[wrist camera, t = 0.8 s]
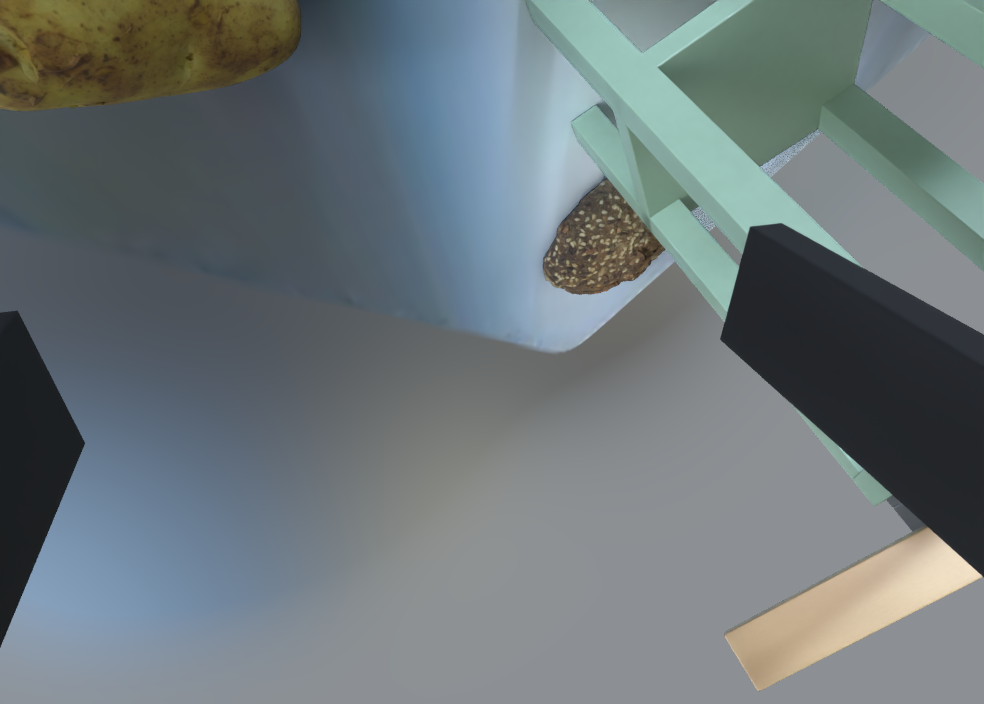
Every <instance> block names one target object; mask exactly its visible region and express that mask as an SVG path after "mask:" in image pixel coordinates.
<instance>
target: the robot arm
mask: <svg viewBox="0 0 984 704" xmlns="http://www.w3.org/2000/svg"><path fill="white" fill-rule="evenodd" d="M720 339H721V341H722V342H723V343H725V344H726V345H727V346H728V347H729V348H730V349H731V350H732V351H734V352H735V353H736V354H737V355H738V356H739V357H740V358H741V359H742V360H744V361H745V362H746V363H747V364H748V365H749V366H750V367H751V368H752V369H753V370H755V371H756V372H757V373H758V374H759V375H760V376H761V377H762V378H764V380H766V381H767V382H768V383H769V384H770V385H771V386H772V387H774V388H775V389H776V390H777V391H778V392H779V393H780V394H781V395H782V396H783V397H785V398H786V399H787V400H788V401H789V402H790V403H791V404H792V405H793V406H794V407H796V408H797V409H798V410H799V411H800V412H801V413H802V414H803V415H804V416H805V417H807V418H808V419H809V420H810V421H811V422H812V423H813V424H814V425H815V426H817V427H818V428H819V429H820V430H821V431H822V432H823V433H824V434H825V435H827V436H828V437H829V438H830V439H831V440H832V441H833V442H834V443H835V444H837V445H838V446H839V447H840V448H841V449H842V450H843V451H844V452H845V453H846V454H848V455H849V456H850V457H851V458H852V459H853V460H854V461H855V462H856V463H858V464H859V465H860V466H861V467H862V468H863V469H864V470H865V471H866V472H868V473H869V474H870V475H871V476H872V477H873V478H874V479H875V480H876V481H878V482H879V483H880V484H881V485H882V486H883V487H884V488H885V489H886V490H887V491H889V492H890V493H891V494H892V495H893V496H894V497H895V498H896V499H897V500H899V501H900V502H901V503H902V504H903V505H904V506H905V507H906V508H907V509H909V510H910V511H911V512H912V513H913V514H914V515H915V516H916V517H917V518H918V519H920V520H921V521H922V522H923V523H924V524H925V525H926V526H927V527H928V528H930V529H931V530H932V531H933V532H934V533H935V534H936V535H937V536H938V537H940V538H941V539H942V540H943V541H944V542H945V543H946V544H947V545H948V546H950V547H951V548H952V549H953V550H954V551H955V552H956V553H957V554H958V555H959V556H961V557H962V558H963V559H964V560H965V561H966V562H967V563H968V564H969V565H971V566H972V567H973V568H974V569H975V570H976V571H977V572H978V573H979V574H981V575H982V576H983V577H984V335H983V334H982V333H980V332H978V331H976V330H974V329H973V328H971V327H969V326H967V325H965V324H963V323H961V322H960V321H958V320H956V319H954V318H953V317H951V316H949V315H947V314H945V313H944V312H942V311H940V310H938V309H936V308H935V307H933V306H931V305H929V304H927V303H925V302H924V301H922V300H920V299H918V298H916V297H915V296H913V295H911V294H909V293H907V292H906V291H904V290H902V289H900V288H898V287H897V286H895V285H893V284H891V283H889V282H887V281H885V280H884V279H882V278H880V277H878V276H877V275H875V274H873V273H871V272H869V271H868V270H866V269H864V268H862V267H860V266H859V265H857V264H855V263H853V262H851V261H850V260H848V259H846V258H844V257H842V256H840V255H839V254H837V253H835V252H833V251H831V250H830V249H828V248H826V247H824V246H822V245H821V244H819V243H817V242H815V241H813V240H812V239H810V238H808V237H806V236H804V235H803V234H801V233H799V232H797V231H795V230H793V229H792V228H790V227H788V226H786V225H784V224H783V223H777V224H768V225H760V226H751V227H750V228H749V232H748V236H747V240H746V243H745V247H744V251H743V255H742V259H741V262H740V266H739V270H738V274H737V278H736V281H735V285H734V289H733V293H732V297H731V300H730V304H729V308H728V312H727V316H726V319H725V324H724V327H723V331H722V335H721V338H720ZM84 444H85V442H84V440H83V438H82V436H81V434H80V432H79V430H78V429H77V426H76V424H75V423H74V421H73V419H72V417H71V415H70V413H69V411H68V409H67V407H66V405H65V403H64V401H63V399H62V397H61V395H60V393H59V391H58V389H57V387H56V386H55V384H54V381H53V379H52V378H51V375H50V373H49V371H48V370H47V368H46V366H45V364H44V362H43V360H42V358H41V356H40V354H39V352H38V350H37V348H36V346H35V344H34V342H33V340H32V338H31V336H30V334H29V332H28V330H27V328H26V326H25V325H24V322H23V321H22V319H21V317H20V315H19V313H18V311H11V312H3V313H0V647H1V644H2V642H3V639H4V637H5V635H6V632H7V630H8V627H9V625H10V622H11V620H12V617H13V615H14V613H15V611H16V608H17V606H18V603H19V601H20V598H21V596H22V593H23V591H24V589H25V586H26V584H27V582H28V579H29V577H30V574H31V572H32V570H33V567H34V565H35V562H36V560H37V558H38V555H39V553H40V550H41V548H42V545H43V543H44V541H45V538H46V536H47V534H48V531H49V529H50V526H51V524H52V521H53V519H54V517H55V514H56V512H57V509H58V507H59V505H60V502H61V500H62V497H63V495H64V493H65V490H66V488H67V485H68V483H69V481H70V478H71V476H72V473H73V471H74V468H75V466H76V464H77V461H78V459H79V457H80V454H81V452H82V449H83V447H84Z"/></svg>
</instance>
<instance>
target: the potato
mask: <svg viewBox="0 0 984 704" xmlns="http://www.w3.org/2000/svg"><path fill="white" fill-rule="evenodd" d="M300 37H301V9H300V4H299V1H298V0H0V108H1V109H7V110H15V111H37V110H48V109H57V108H63V107H70V108H75V107H86V106H98V105H112V104H119V103H125V102H132V101H139V100H145V99H151V98H156V97H162V96H172V95H180V94H187V93H193V92H199V91H205V90H211V89H216V88H221V87H226V86H230V85H233V84H237V83H240V82H243V81H246V80H249V79H252V78H254V77H257V76H259V75H261V74H263V73H265V72H267V71H269V70H271V69H273V68H275V67H277V66H278V65H280V64H281V63H283V62H284V61H286V60H287V59H288V58H289V57H290V56H291V55H292V54H293V52H294V51H295V50H296V48H297V46H298V43H299V41H300Z"/></svg>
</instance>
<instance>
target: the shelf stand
mask: <svg viewBox="0 0 984 704" xmlns="http://www.w3.org/2000/svg"><path fill="white" fill-rule="evenodd" d="M525 1H526V4H527V7H528V10H529V12H530V15H531V18H532V20H533V22H534V23H535V24H536V25H537V26H538V27H539V29H540V30H541V31H542V32H543V33H544V34H545V35H546V36H547V38H548V39H549V40H550V41H551V42H552V43H553V44H554V45H555V46H556V48H557V49H558V50H559V51H560V52H561V53H562V54H563V55H564V56H565V58H566V59H567V60H568V61H569V62H570V63H571V64H572V65H573V66H574V68H575V69H576V70H577V71H578V72H579V73H580V74H581V75H582V76H583V78H584V79H585V80H586V81H587V82H588V83H589V84H590V85H591V87H592V88H593V89H594V90H595V91H596V92H597V93H598V94H599V95H600V97H601V98H602V99H603V100H604V101H605V102H606V103H607V104H608V105H609V107H610V108H611V109H612V110H613V112H614V116H615V119H616V123H617V127H618V129H617V128H616V126H615V125H614V124H613V123H612V122H611V121H610V120H609V118H608V117H607V116H606V115H605V114H604V113H603V112H602V111H601V109H600V108H599V107H598V106H597V105H595V106H593V107H592V108H591V109H589V110H588V111H586V112H585V113H583V114H582V115H580V116H579V117H578V118H576V119H575V120H573V121H572V122H571V125H572V127H573V130H574V133H575V135H576V138H577V141H578V142H579V144H580V145H581V146H582V147H583V149H584V150H585V151H586V152H587V153H588V155H589V156H590V157H591V158H592V160H593V161H594V162H595V163H596V165H597V166H598V167H599V168H600V170H601V171H602V172H603V173H604V174H605V176H606V177H607V178H608V179H609V181H610V182H611V183H612V184H613V186H614V187H615V188H616V189H617V190H618V192H619V193H620V194H621V195H622V197H623V198H624V199H625V200H626V202H627V203H628V204H629V205H630V206H631V208H632V209H633V210H634V211H635V213H636V214H637V215H638V216H639V218H640V219H641V220H642V221H643V222H644V224H645V225H646V226H647V227H648V229H649V230H650V231H651V232H652V234H653V235H654V236H655V237H656V238H657V240H658V241H659V242H660V243H661V245H662V246H663V247H664V248H665V250H666V251H667V252H668V253H669V254H670V256H671V257H672V258H673V259H674V261H675V262H676V263H677V264H678V266H679V267H680V268H681V269H682V270H683V271H684V273H685V274H686V275H687V277H688V278H689V279H690V280H691V282H692V283H693V284H694V285H695V286H696V288H697V289H698V290H699V291H700V293H701V294H702V295H703V296H704V298H705V299H706V300H707V301H708V303H709V304H710V305H711V306H712V307H713V309H714V310H715V311H716V312H717V313H718V315H719V316H720V317H721V318H722V320H723V321H724V322H725V319H726V316H727V312H728V308H729V304H730V300H731V297H732V293H733V289H734V285H735V281H736V278H737V274H738V270H739V266H738V265H737V264H736V263H735V261H734V260H733V259H732V258H731V257H730V256H729V255H728V253H727V252H726V251H725V250H724V249H723V248H722V247H721V246H720V244H719V243H718V242H717V241H716V240H715V239H714V238H713V236H712V235H711V234H710V233H709V232H708V231H707V230H706V229H705V227H704V226H703V225H702V224H701V223H700V222H699V221H698V219H697V218H696V217H695V216H694V215H693V214H692V213H691V211H692V210H694V209H695V208H697V207H698V206H699V207H700V208H701V209H702V210H703V211H704V212H705V213H706V215H707V216H708V217H709V218H710V219H711V220H712V221H713V222H714V223H715V225H716V226H717V227H718V228H719V229H720V230H721V231H722V232H723V234H724V235H725V236H726V237H727V238H728V239H729V240H730V241H731V242H732V244H734V246H735V247H736V248H737V249H738V250H739V251H740V252H741V254H742V255H743V251H744V247H745V243H746V240H747V236H748V232H749V228H750V227H751V226H760V225H768V224H777V223H783V224H784V225H786V226H788V227H790V228H792V229H793V230H795V231H797V232H799V233H801V234H803V235H804V236H806V237H808V238H810V239H812V240H813V241H815V242H817V243H819V244H821V245H822V246H824V247H826V248H828V249H830V250H831V251H833V252H835V253H837V254H839V255H840V256H842V257H844V258H846V259H848V260H850V261H851V262H853V263H855V264H857V265H859V266H860V267H861V265H860V264H859V263H857V261H856V260H854V259H853V258H852V257H851V256H850V255H849V254H848V253H847V252H846V251H845V250H844V249H843V248H842V247H841V246H840V245H839V244H838V243H837V242H836V241H835V240H834V239H833V238H832V237H831V236H830V235H829V234H828V233H827V232H826V231H825V230H824V229H823V228H822V227H821V226H820V225H819V224H818V223H817V222H816V221H815V220H813V218H811V217H810V216H809V215H808V214H807V213H806V212H805V211H804V210H803V209H802V208H801V207H800V206H799V205H798V204H797V203H796V202H795V201H794V200H793V199H792V198H791V197H790V196H789V195H788V194H787V193H786V192H785V191H784V190H783V189H782V188H781V187H780V186H779V185H778V184H776V182H775V181H774V180H772V179H771V177H769V176H768V175H767V174H766V173H765V172H764V171H763V170H762V169H761V168H760V166H762V165H763V164H765V163H766V162H768V161H769V160H771V159H772V158H774V157H775V156H777V155H779V154H780V153H782V152H783V151H785V150H786V149H788V148H789V147H791V146H792V145H794V144H795V143H797V142H799V141H800V140H802V139H803V138H805V137H806V136H808V135H809V134H811V133H812V132H814V131H815V130H817V129H819V130H820V131H821V132H822V133H823V134H825V135H826V136H827V137H828V138H829V139H831V140H832V141H833V142H834V143H835V144H836V145H837V146H839V147H840V148H841V149H842V150H843V151H844V152H846V153H847V154H848V155H849V156H850V157H851V158H853V159H854V160H855V161H856V162H857V163H858V164H859V165H861V166H862V167H863V168H864V169H865V170H866V171H868V172H869V173H870V174H871V175H872V176H873V177H875V178H876V179H877V180H878V181H879V182H880V183H882V184H883V185H884V186H885V187H886V188H887V189H888V190H890V191H891V192H892V193H893V194H894V195H895V196H897V197H898V198H899V199H900V200H901V201H902V202H904V203H905V204H906V205H907V206H908V207H909V208H911V209H912V210H913V211H914V212H915V213H916V214H917V215H919V216H920V217H921V218H922V219H923V220H924V221H926V222H927V223H928V224H929V225H930V226H931V227H933V228H934V229H935V230H936V231H937V232H938V233H939V234H941V235H942V236H943V237H944V238H945V239H946V240H948V241H949V242H950V243H951V244H952V245H953V246H955V247H956V248H957V249H958V250H959V251H960V252H961V253H963V254H964V255H965V256H966V257H967V258H968V259H970V260H971V261H972V262H973V263H974V264H976V265H977V266H978V267H979V268H980V269H981V270H982V271H984V184H983V183H982V182H981V181H979V180H978V179H977V178H975V177H974V176H973V175H972V174H970V173H969V172H968V171H966V170H965V169H964V168H962V167H961V166H960V165H959V164H957V163H956V162H955V161H954V160H952V159H951V158H950V157H948V156H947V155H946V154H944V153H943V152H942V151H941V150H939V149H938V148H937V147H935V146H934V145H933V144H932V143H930V142H929V141H928V140H926V139H925V138H924V137H922V136H921V135H920V134H919V133H917V132H916V131H915V130H913V129H912V128H911V127H910V126H908V125H907V124H906V123H904V122H903V121H902V120H901V119H899V118H898V117H897V116H895V115H894V114H893V113H891V112H890V111H889V110H888V109H886V108H885V107H884V106H882V105H881V104H880V103H879V102H877V101H876V100H875V99H873V98H872V97H871V96H870V95H868V94H867V93H866V92H864V91H863V90H862V89H861V88H859V87H858V86H857V85H855V84H854V83H855V79H856V74H857V69H858V65H859V60H860V56H861V51H862V47H863V42H864V37H865V33H866V28H867V24H868V19H869V15H870V10H871V5H872V1H873V0H718V1H716V2H715V3H713V4H712V5H710V6H709V7H708V8H706V9H705V10H703V11H702V12H700V13H699V14H698V15H696V16H695V17H693V18H692V19H690V20H689V21H688V22H686V23H685V24H683V25H682V26H680V27H679V28H678V29H676V30H675V31H673V32H672V33H670V34H669V35H668V36H666V37H665V38H663V39H662V40H660V41H659V42H658V43H656V44H655V45H653V46H652V47H651V48H649V49H648V50H646V51H645V52H643V53H642V52H641V51H640V50H639V49H638V48H637V47H636V46H635V45H634V44H633V43H632V42H631V41H630V40H629V39H628V38H627V37H626V36H625V35H624V34H623V33H622V32H621V31H620V30H619V29H618V28H617V27H616V26H615V25H614V24H613V23H612V22H611V21H610V20H609V19H608V18H607V17H606V16H605V15H604V14H602V13H601V12H600V11H599V10H598V9H597V8H596V7H595V6H594V5H593V4H592V3H591V2H590V1H589V0H525ZM880 1H882V2H883V3H885V4H886V5H888V6H889V7H891V8H892V9H894V10H895V11H897V12H898V13H900V14H901V15H903V16H904V17H906V18H907V19H909V20H910V21H912V22H913V23H915V24H916V25H918V26H920V27H921V28H923V29H924V30H926V31H927V32H929V33H930V34H932V35H933V36H935V37H936V38H938V39H939V40H941V41H942V42H944V43H945V44H947V45H949V46H950V47H951V48H953V49H954V50H956V51H957V52H959V53H961V54H962V55H964V56H965V57H967V58H968V59H970V60H971V61H973V62H974V63H976V64H977V65H979V66H980V67H982V68H983V69H984V0H880ZM862 268H863V267H862ZM791 405H792V404H791ZM792 406H793V405H792ZM793 407H794V406H793ZM794 408H795V410H796V411H797V412H798V413H799V415H800V416H801V417H802V418H803V420H804V421H805V422H806V423H807V424H808V426H809V427H810V428H811V429H812V431H813V432H814V433H815V434H816V436H817V437H818V438H819V439H820V440H821V442H822V443H823V444H824V445H825V447H826V448H827V449H828V450H829V451H830V453H831V454H832V455H833V456H834V458H835V459H836V460H837V461H838V463H839V464H840V465H841V466H842V468H843V469H844V470H845V471H846V473H847V474H848V475H849V476H850V477H851V478H852V479H853V481H854V483H855V484H856V485H857V486H858V487H859V489H860V490H861V491H862V492H863V494H864V495H865V496H866V497H867V499H868V500H869V501H870V502H871V504H872V505H873V506H876V505H878V504H879V503H882V502H883V501H885V500H887V499H888V498H890V497H892V496H893V495H892V494H891V493H890V492H889V491H887V490H886V489H885V488H884V487H883V486H882V485H881V484H880V483H879V482H878V481H876V480H875V479H874V478H873V477H872V476H871V475H870V474H869V473H868V472H866V471H865V470H864V469H863V468H862V467H861V466H860V465H859V464H858V463H856V462H855V461H854V460H853V459H852V458H851V457H850V456H849V455H848V454H846V453H845V452H844V451H843V450H842V449H841V448H840V447H839V446H838V445H837V444H835V443H834V442H833V441H832V440H831V439H830V438H829V437H828V436H827V435H825V434H824V433H823V432H822V431H821V430H820V429H819V428H818V427H817V426H815V425H814V424H813V423H812V422H811V421H810V420H809V419H808V418H807V417H805V416H804V415H803V414H802V413H801V412H800V411H799V410H798V409H797V408H796V407H794Z"/></svg>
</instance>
